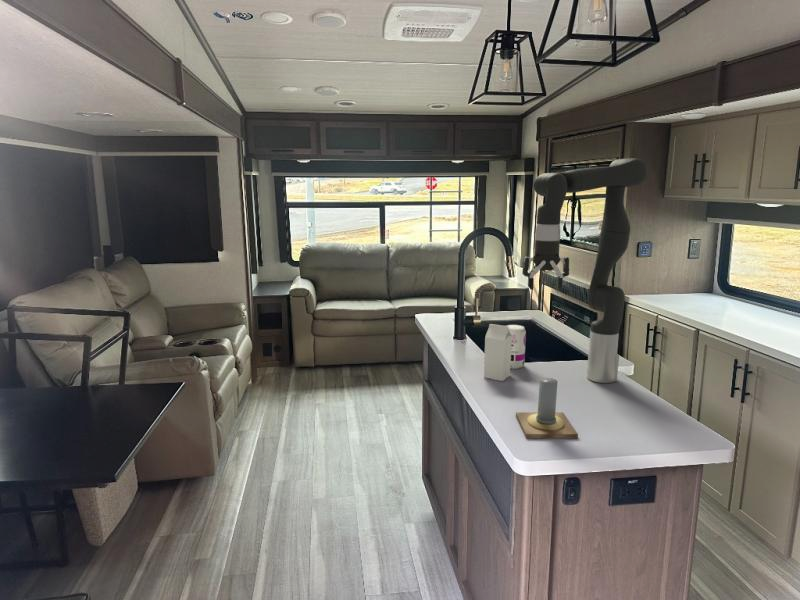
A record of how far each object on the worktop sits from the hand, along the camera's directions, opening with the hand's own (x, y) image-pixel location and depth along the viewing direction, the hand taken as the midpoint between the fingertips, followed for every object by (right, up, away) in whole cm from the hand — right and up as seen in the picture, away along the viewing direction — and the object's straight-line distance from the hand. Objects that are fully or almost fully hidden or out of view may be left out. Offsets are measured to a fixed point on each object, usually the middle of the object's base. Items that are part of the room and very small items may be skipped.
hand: (544, 289), depth 174 cm
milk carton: (-12, -31, +19) cm, 38 cm away
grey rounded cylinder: (-5, -38, -20) cm, 43 cm away
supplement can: (-4, -28, +31) cm, 42 cm away
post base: (-5, -39, -20) cm, 44 cm away
